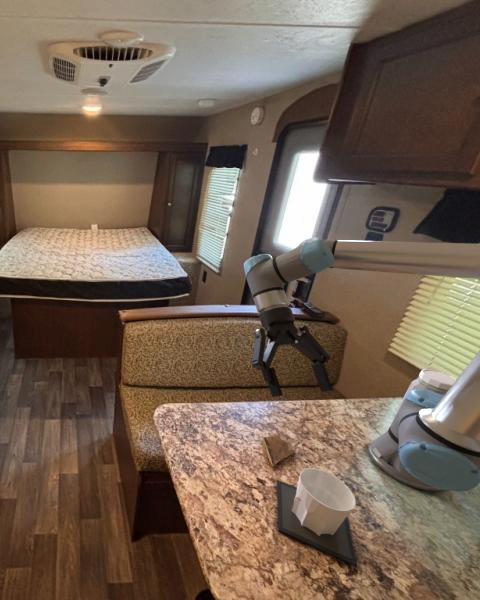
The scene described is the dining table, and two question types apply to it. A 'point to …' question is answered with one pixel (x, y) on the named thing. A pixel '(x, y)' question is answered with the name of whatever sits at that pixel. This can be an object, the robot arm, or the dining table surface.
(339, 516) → the cup
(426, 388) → the jar
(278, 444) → the shard
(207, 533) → the dining table surface
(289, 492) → the mat
